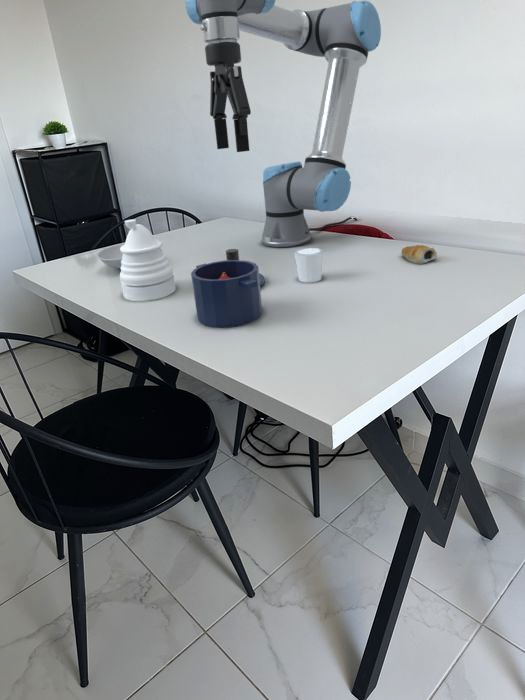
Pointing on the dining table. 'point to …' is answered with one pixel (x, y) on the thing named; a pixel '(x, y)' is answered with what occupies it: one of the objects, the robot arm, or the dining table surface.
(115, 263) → the dish
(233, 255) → the lid
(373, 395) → the dining table surface
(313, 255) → the white tapered cylinder
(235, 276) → the pot
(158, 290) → the honey pot
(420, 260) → the pastry
